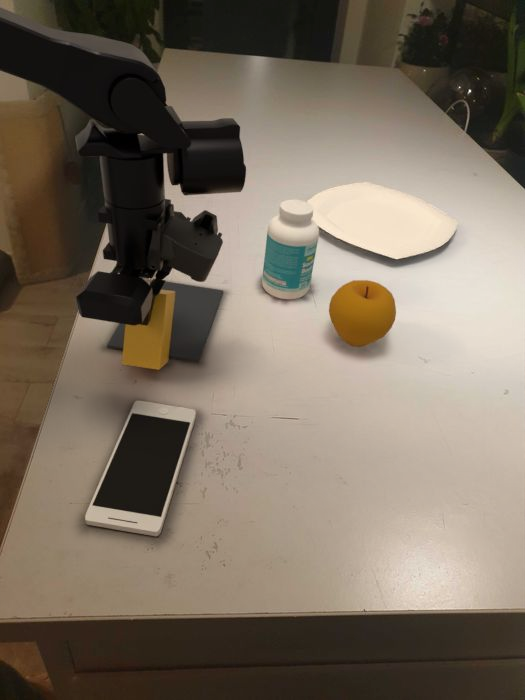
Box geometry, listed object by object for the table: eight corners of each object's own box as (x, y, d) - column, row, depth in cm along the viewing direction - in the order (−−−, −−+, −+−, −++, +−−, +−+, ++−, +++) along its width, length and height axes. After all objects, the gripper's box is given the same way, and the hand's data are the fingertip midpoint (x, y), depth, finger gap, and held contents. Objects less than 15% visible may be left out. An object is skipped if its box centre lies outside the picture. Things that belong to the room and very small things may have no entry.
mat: (107, 348, 67) (106, 345, 67) (145, 280, 80) (145, 278, 79) (198, 363, 67) (198, 360, 67) (223, 293, 79) (223, 290, 79)
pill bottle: (306, 305, 79) (321, 223, 70) (257, 297, 79) (266, 214, 70) (310, 278, 84) (325, 199, 75) (265, 271, 85) (274, 191, 76)
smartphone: (196, 414, 60) (196, 408, 60) (159, 537, 49) (159, 532, 48) (135, 404, 60) (135, 399, 60) (84, 524, 49) (82, 519, 48)
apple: (352, 312, 78) (365, 260, 72) (400, 343, 74) (418, 291, 68) (310, 334, 73) (320, 280, 68) (358, 369, 69) (374, 315, 63)
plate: (398, 280, 86) (401, 270, 85) (278, 217, 99) (279, 207, 98) (473, 232, 102) (477, 223, 101) (361, 183, 115) (363, 174, 114)
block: (121, 364, 62) (128, 288, 61) (133, 356, 67) (139, 286, 65) (159, 369, 62) (166, 294, 60) (168, 361, 67) (175, 291, 65)
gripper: (193, 257, 43) (192, 391, 53) (234, 171, 57) (228, 289, 67) (62, 237, 44) (86, 373, 54) (135, 156, 58) (143, 276, 68)
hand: (144, 323), depth 61 cm, fingers closed
